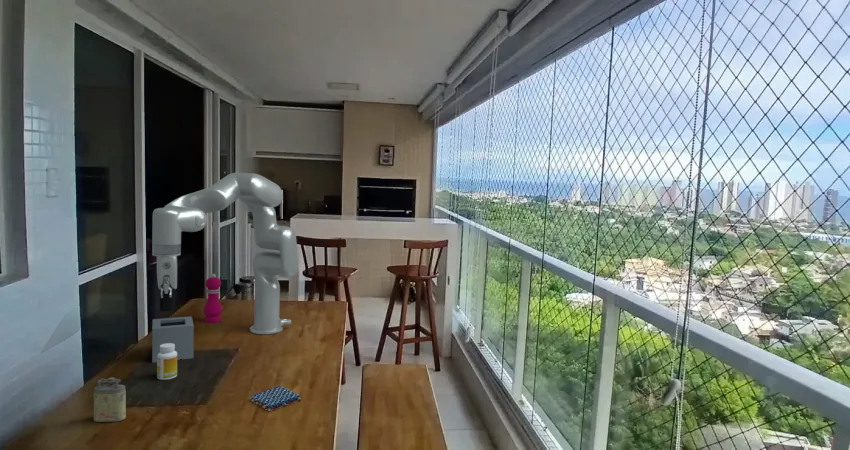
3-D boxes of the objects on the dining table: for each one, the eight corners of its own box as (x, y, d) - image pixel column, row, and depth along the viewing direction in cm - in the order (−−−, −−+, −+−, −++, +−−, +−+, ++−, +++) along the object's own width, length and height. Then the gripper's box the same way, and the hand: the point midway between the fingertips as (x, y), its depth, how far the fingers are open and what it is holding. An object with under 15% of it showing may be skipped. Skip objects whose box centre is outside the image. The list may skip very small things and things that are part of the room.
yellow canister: (128, 415, 125) (128, 376, 125) (121, 422, 122) (121, 382, 121) (98, 415, 125) (97, 376, 124) (89, 423, 121) (89, 382, 120)
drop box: (191, 347, 177) (191, 316, 176) (193, 358, 166) (193, 325, 166) (152, 350, 171) (152, 319, 170) (152, 362, 161) (152, 329, 160)
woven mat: (280, 390, 146) (280, 383, 145) (302, 402, 139) (303, 395, 139) (247, 401, 137) (247, 394, 137) (269, 414, 131) (270, 406, 131)
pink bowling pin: (203, 319, 212) (203, 272, 210) (221, 318, 215) (222, 271, 213) (203, 323, 205) (204, 275, 203) (222, 322, 208) (223, 274, 206)
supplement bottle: (180, 374, 153) (181, 343, 152) (170, 381, 147) (170, 348, 147) (164, 372, 153) (164, 341, 153) (152, 379, 148) (153, 347, 147)
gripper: (181, 253, 142) (180, 313, 144) (179, 246, 158) (179, 299, 159) (151, 254, 139) (151, 315, 140) (152, 246, 154) (152, 301, 155)
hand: (165, 307), depth 149 cm, fingers open, 9 cm apart
